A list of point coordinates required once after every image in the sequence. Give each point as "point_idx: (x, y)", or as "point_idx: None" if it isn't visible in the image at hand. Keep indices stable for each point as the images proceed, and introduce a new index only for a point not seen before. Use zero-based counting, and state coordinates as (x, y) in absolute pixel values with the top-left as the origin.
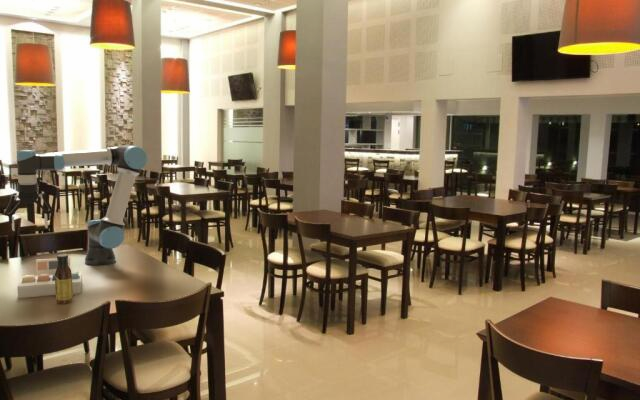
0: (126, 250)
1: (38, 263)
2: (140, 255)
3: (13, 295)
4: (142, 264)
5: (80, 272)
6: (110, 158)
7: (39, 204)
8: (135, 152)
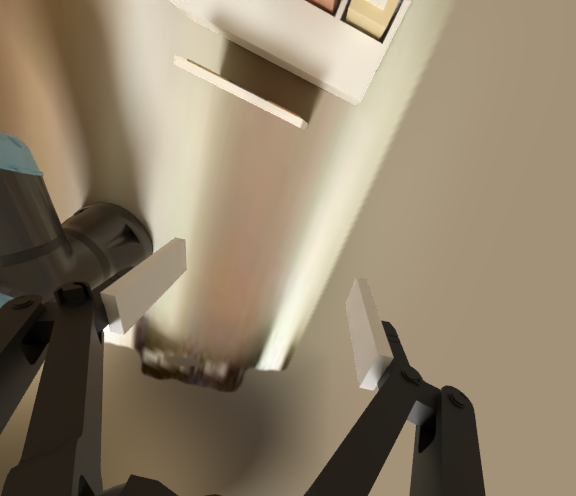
0: None
1: (296, 114)
2: None
3: (423, 10)
4: None
5: (175, 2)
6: None
7: (53, 425)
8: None
